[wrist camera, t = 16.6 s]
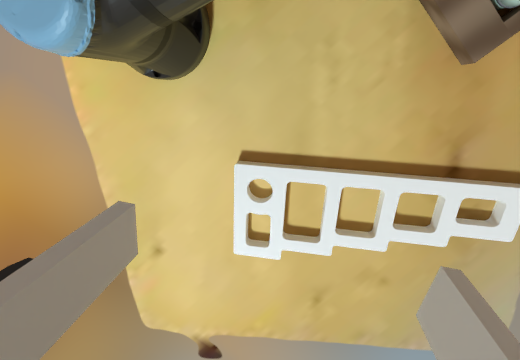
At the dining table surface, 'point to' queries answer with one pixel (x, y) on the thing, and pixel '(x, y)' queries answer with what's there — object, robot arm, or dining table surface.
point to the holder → (384, 230)
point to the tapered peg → (505, 4)
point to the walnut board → (472, 26)
